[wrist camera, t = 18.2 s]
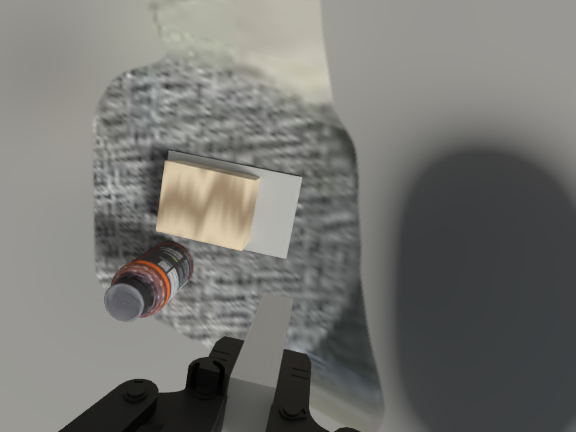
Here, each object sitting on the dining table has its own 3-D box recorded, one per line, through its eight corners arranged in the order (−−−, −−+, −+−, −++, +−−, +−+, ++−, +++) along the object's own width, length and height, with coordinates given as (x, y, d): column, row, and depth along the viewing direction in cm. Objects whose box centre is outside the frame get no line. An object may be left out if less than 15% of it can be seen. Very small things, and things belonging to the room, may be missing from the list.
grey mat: (170, 150, 41) (168, 150, 41) (302, 177, 40) (302, 177, 40) (160, 230, 43) (159, 231, 43) (286, 257, 42) (286, 258, 42)
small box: (260, 177, 40) (178, 159, 41) (255, 180, 37) (165, 160, 37) (248, 242, 42) (169, 223, 43) (241, 250, 39) (155, 230, 39)
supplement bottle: (146, 278, 45) (88, 322, 34) (153, 235, 44) (96, 265, 33) (190, 291, 45) (147, 338, 34) (199, 248, 43) (156, 282, 32)
